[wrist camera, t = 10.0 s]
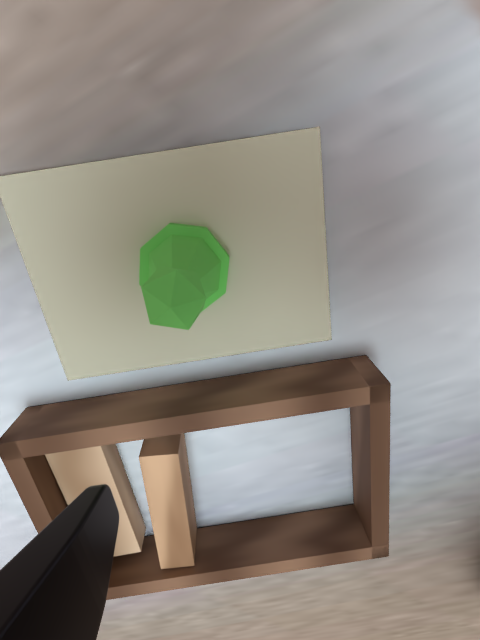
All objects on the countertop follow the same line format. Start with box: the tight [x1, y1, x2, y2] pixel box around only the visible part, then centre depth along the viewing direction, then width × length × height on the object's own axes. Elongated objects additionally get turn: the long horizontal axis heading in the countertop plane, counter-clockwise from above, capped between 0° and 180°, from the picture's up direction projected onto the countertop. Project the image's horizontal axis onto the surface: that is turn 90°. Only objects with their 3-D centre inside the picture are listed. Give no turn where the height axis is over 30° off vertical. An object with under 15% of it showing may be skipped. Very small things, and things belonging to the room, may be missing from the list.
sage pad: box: [0, 127, 332, 381], centre depth 17 cm, size 14×10×1 cm
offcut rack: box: [0, 355, 390, 600], centre depth 20 cm, size 19×12×3 cm, turn 98°
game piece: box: [139, 223, 230, 330], centre depth 14 cm, size 4×4×6 cm
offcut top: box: [139, 433, 197, 569], centre depth 21 cm, size 3×8×2 cm
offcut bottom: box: [45, 444, 146, 556], centre depth 21 cm, size 3×9×2 cm, turn 9°
